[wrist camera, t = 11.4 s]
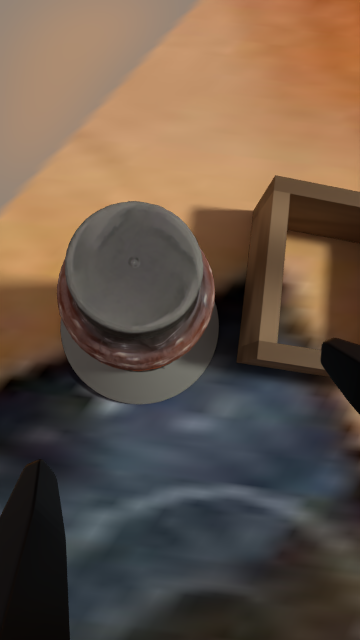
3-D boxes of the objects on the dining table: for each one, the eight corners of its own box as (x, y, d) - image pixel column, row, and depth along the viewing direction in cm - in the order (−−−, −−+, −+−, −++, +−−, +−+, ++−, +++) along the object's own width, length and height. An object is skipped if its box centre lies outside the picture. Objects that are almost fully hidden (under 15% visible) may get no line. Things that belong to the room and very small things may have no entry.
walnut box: (394, 387, 21) (450, 389, 17) (236, 362, 20) (257, 358, 17) (396, 237, 23) (447, 209, 19) (253, 210, 23) (275, 175, 19)
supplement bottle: (79, 355, 19) (-16, 327, 8) (113, 268, 20) (69, 139, 9) (172, 385, 19) (202, 397, 8) (200, 297, 21) (258, 205, 10)
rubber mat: (207, 414, 20) (208, 415, 19) (46, 391, 19) (44, 391, 19) (225, 265, 22) (227, 263, 21) (80, 239, 21) (78, 236, 21)
